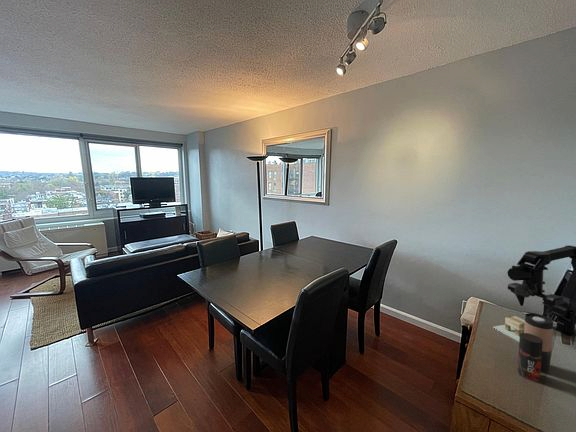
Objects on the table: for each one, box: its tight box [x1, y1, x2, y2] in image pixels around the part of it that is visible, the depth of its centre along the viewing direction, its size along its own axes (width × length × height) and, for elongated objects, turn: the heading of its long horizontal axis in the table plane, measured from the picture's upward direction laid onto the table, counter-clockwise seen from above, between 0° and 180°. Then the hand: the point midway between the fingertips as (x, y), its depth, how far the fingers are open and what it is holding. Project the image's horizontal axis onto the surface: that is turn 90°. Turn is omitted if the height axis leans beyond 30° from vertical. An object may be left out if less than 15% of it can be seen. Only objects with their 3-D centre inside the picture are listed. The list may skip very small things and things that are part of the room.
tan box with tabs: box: [504, 315, 525, 336], centre depth 113 cm, size 6×6×6 cm
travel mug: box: [524, 312, 554, 373], centre depth 91 cm, size 8×8×20 cm
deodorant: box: [517, 333, 543, 382], centre depth 87 cm, size 6×6×15 cm
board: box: [492, 324, 523, 343], centre depth 113 cm, size 12×12×1 cm
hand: (532, 310), depth 112 cm, fingers open, 9 cm apart
